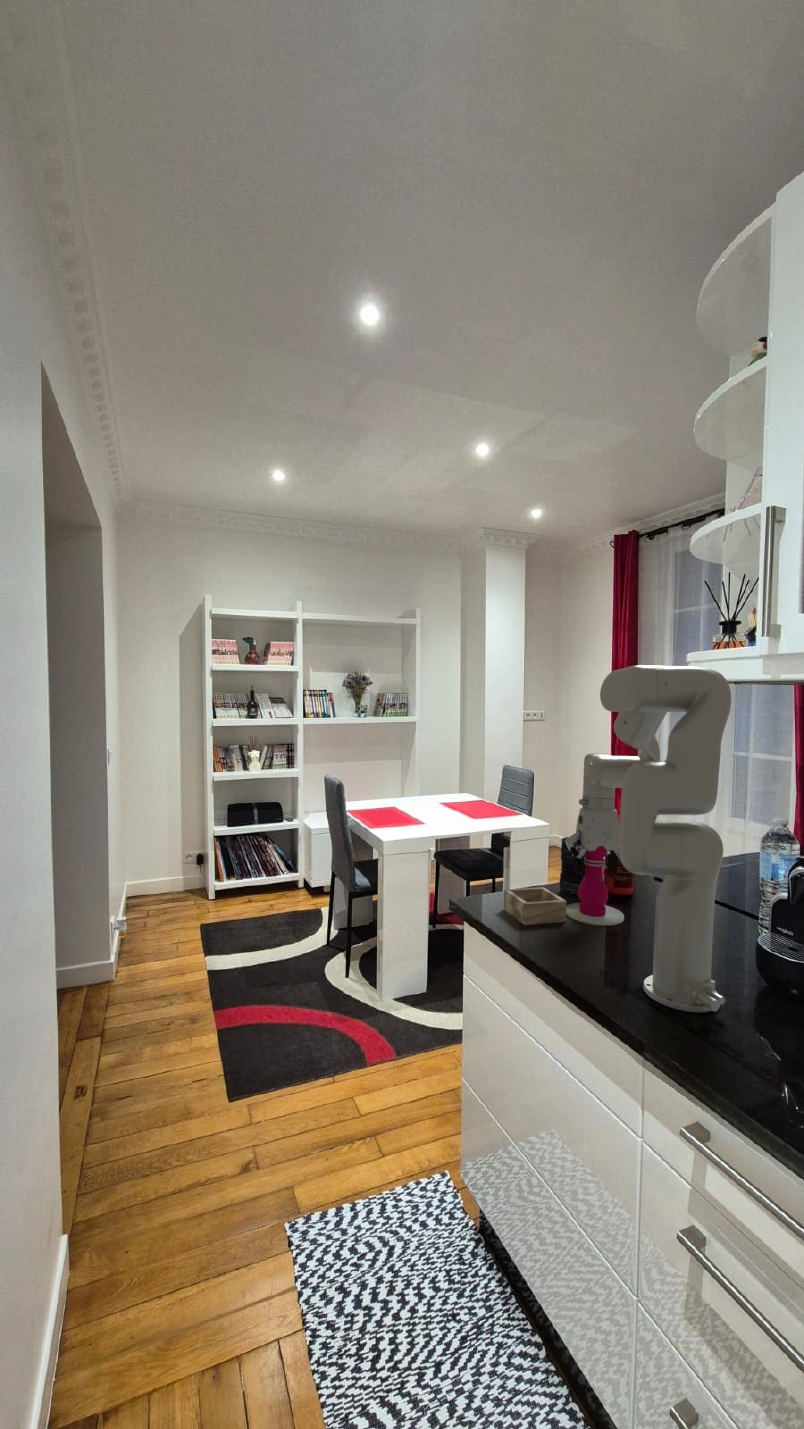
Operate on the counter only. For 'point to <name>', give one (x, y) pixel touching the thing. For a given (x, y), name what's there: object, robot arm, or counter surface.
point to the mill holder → (534, 905)
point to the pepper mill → (593, 884)
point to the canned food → (618, 879)
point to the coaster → (608, 919)
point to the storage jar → (569, 873)
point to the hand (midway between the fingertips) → (595, 872)
